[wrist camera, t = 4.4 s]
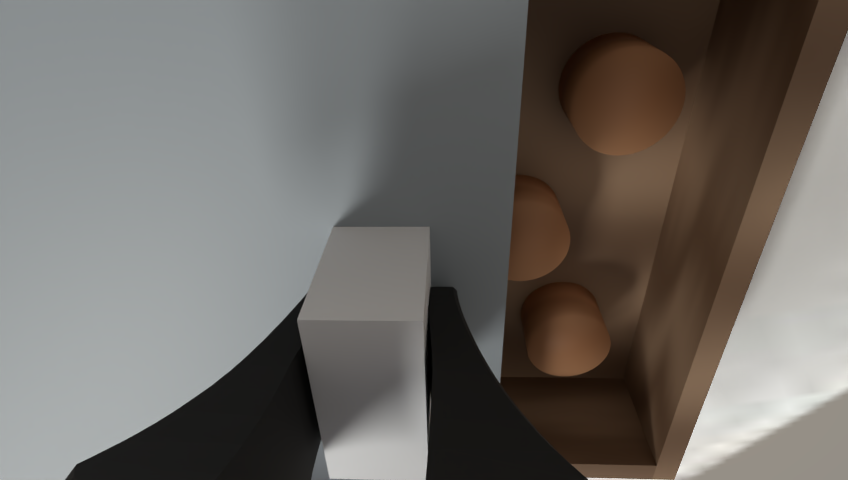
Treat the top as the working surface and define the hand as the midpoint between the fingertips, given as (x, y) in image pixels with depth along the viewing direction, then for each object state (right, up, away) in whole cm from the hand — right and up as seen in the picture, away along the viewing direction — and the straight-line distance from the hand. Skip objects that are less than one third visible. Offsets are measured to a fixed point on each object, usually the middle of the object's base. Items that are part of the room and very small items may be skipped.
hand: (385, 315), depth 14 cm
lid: (-6, +1, +1) cm, 6 cm away
